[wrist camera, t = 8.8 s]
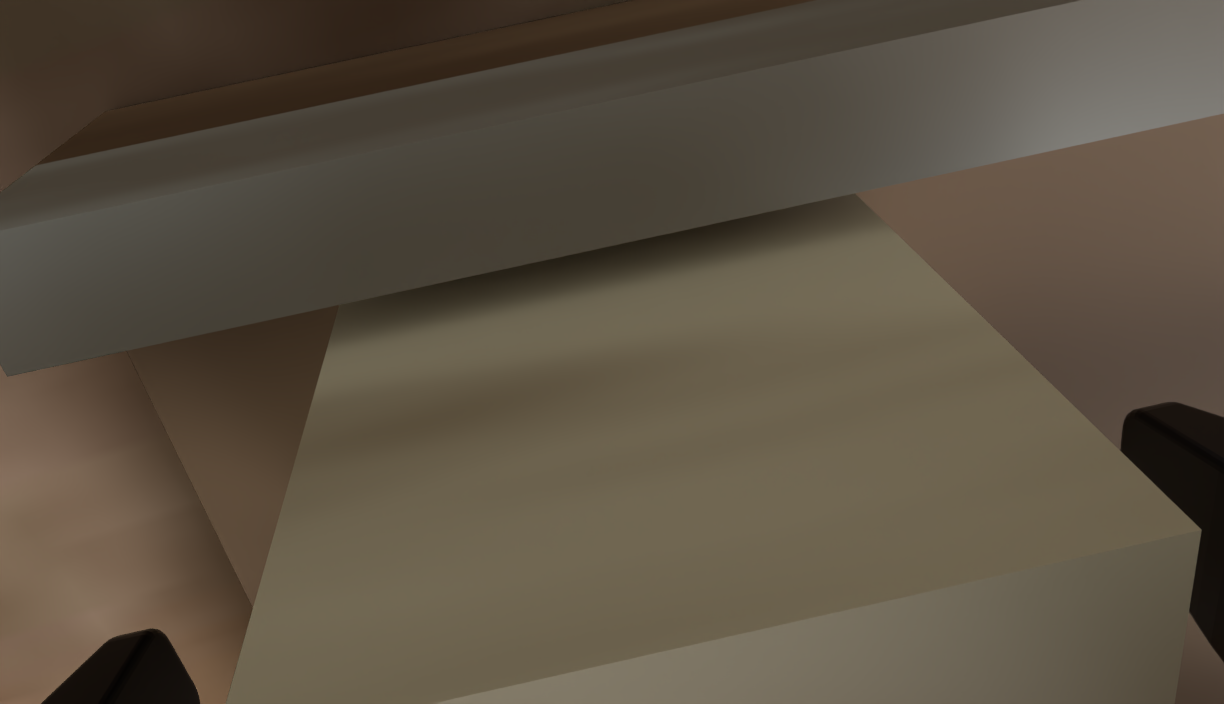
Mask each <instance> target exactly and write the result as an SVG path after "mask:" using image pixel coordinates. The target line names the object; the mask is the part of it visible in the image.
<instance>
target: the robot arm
mask: <svg viewBox="0 0 1224 704" xmlns="http://www.w3.org/2000/svg"><path fill="white" fill-rule="evenodd" d="M1120 451H1121V452H1122V453H1123V454H1124V455H1125V456H1126V457H1127V458H1128V459H1129V460H1130V461H1131V462H1132V463H1133V464H1134V465H1135V466H1136V467H1137V468H1138V469H1140V470H1141V471H1142V472H1143V473H1144V474H1145V475H1146V476H1147V477H1148V478H1149V479H1150V480H1151V481H1152V482H1153V483H1154V484H1155V485H1156V486H1157V487H1158V488H1159V489H1160V490H1161V491H1162V492H1163V493H1164V494H1165V495H1166V496H1167V497H1168V498H1169V499H1170V500H1171V501H1172V502H1173V503H1175V504H1176V505H1177V506H1178V507H1179V508H1180V509H1181V510H1182V511H1183V512H1184V513H1185V514H1186V515H1187V516H1188V517H1189V518H1190V519H1191V520H1192V521H1193V522H1194V523H1195V524H1196V525H1197V526H1198V527H1199V528H1200V529H1201V530H1202V531H1201V537H1200V544H1199V550H1198V556H1197V563H1196V569H1195V576H1194V582H1193V588H1192V595H1191V601H1190V608H1189V613H1190V614H1191V616H1192V617H1193V619H1194V621H1195V622H1196V624H1197V625H1198V627H1199V628H1200V630H1201V631H1202V633H1203V634H1204V636H1205V637H1206V639H1207V640H1208V642H1209V643H1210V645H1211V646H1212V648H1213V649H1214V650H1215V652H1216V653H1217V654H1218V656H1219V657H1220V658H1221V660H1222V661H1223V662H1224V417H1222V416H1219V415H1216V414H1213V413H1210V412H1206V411H1203V410H1200V409H1197V408H1194V407H1191V406H1188V405H1185V404H1182V403H1178V402H1165V403H1160V404H1156V405H1151V406H1147V407H1142V408H1138V409H1134V410H1132V411H1131V412H1129V413H1128V414H1127V415H1126V417H1125V419H1124V422H1123V427H1122V437H1121V447H1120ZM41 704H200V700H199V695H198V692H197V689H196V687H195V685H194V683H193V681H192V680H191V678H190V676H189V674H188V673H187V671H186V669H185V667H184V665H183V664H182V662H181V660H180V658H179V657H178V655H177V653H176V651H175V649H174V648H173V646H172V644H171V642H170V641H169V639H168V638H167V636H166V635H165V634H164V633H163V632H161V631H160V630H158V629H146V630H142V631H137V632H133V633H128V634H124V635H119V636H116V637H113V638H111V639H110V640H108V641H107V642H106V643H104V644H103V645H102V646H101V647H100V648H99V649H98V650H97V651H96V652H95V653H94V654H93V655H92V656H91V657H90V658H89V659H88V660H86V661H85V662H84V663H83V664H82V665H81V666H80V667H79V668H78V669H77V670H76V671H75V672H74V673H73V674H72V675H71V676H70V677H69V678H67V679H66V680H65V681H64V682H63V683H62V684H61V685H60V686H59V687H58V688H57V689H56V690H55V691H54V692H53V693H52V694H51V695H50V696H48V697H47V698H46V699H45V700H44V701H43V702H42V703H41Z"/></svg>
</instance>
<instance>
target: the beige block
mask: <svg viewBox="0 0 1224 704" xmlns="http://www.w3.org/2000/svg"><path fill="white" fill-rule="evenodd" d="M1201 531H1202V530H1201V529H1200V528H1199V527H1198V526H1197V525H1196V524H1195V523H1194V522H1193V521H1192V520H1191V519H1190V518H1189V517H1188V516H1187V515H1186V514H1185V513H1184V512H1183V511H1182V510H1181V509H1180V508H1179V507H1178V506H1177V505H1176V504H1175V503H1173V502H1172V501H1171V500H1170V499H1169V498H1168V497H1167V496H1166V495H1165V494H1164V493H1163V492H1162V491H1161V490H1160V489H1159V488H1158V487H1157V486H1156V485H1155V484H1154V483H1153V482H1152V481H1151V480H1150V479H1149V478H1148V477H1147V476H1146V475H1145V474H1144V473H1143V472H1142V471H1141V470H1140V469H1138V468H1137V467H1136V466H1135V465H1134V464H1133V463H1132V462H1131V461H1130V460H1129V459H1128V458H1127V457H1126V456H1125V455H1124V454H1123V453H1122V452H1121V451H1120V450H1119V449H1118V448H1117V447H1116V446H1115V445H1114V444H1113V443H1112V442H1111V441H1110V440H1109V439H1108V438H1107V437H1105V436H1104V435H1103V434H1102V433H1101V432H1100V431H1099V430H1098V429H1097V428H1096V427H1095V426H1094V425H1093V424H1092V423H1091V422H1090V421H1089V420H1088V419H1087V418H1086V417H1085V416H1084V415H1083V414H1082V413H1081V412H1080V411H1079V410H1078V409H1077V408H1076V407H1075V406H1074V405H1073V404H1072V403H1070V402H1069V401H1068V400H1067V399H1066V398H1065V397H1064V396H1063V395H1062V394H1061V393H1060V392H1059V391H1058V390H1057V389H1056V388H1055V387H1054V386H1053V385H1052V384H1051V383H1050V382H1049V381H1048V380H1047V379H1046V378H1045V377H1044V376H1043V375H1042V374H1041V373H1040V372H1039V371H1038V370H1036V369H1035V368H1034V367H1033V366H1032V365H1031V364H1030V363H1029V362H1028V361H1027V360H1026V359H1025V358H1024V357H1023V356H1022V355H1021V354H1020V353H1019V352H1018V351H1017V350H1016V349H1015V348H1014V347H1013V346H1012V345H1011V344H1010V343H1009V342H1008V341H1007V340H1006V339H1005V338H1004V337H1002V336H1001V335H1000V334H999V333H998V332H997V331H996V330H995V329H994V328H993V327H992V326H991V325H990V324H989V323H988V322H987V321H986V320H985V319H984V318H983V317H982V316H981V315H980V314H979V313H978V312H977V311H976V310H975V309H974V308H973V307H972V306H971V305H970V304H968V303H967V302H966V301H965V300H964V299H963V298H962V297H961V296H960V295H959V294H958V293H957V292H956V291H955V290H954V289H953V288H952V287H951V286H950V285H949V284H948V283H947V282H946V281H945V280H944V279H943V278H942V277H941V276H940V275H939V274H938V273H937V272H936V271H934V270H933V269H932V268H931V267H930V266H929V265H928V264H927V263H926V262H925V261H924V260H923V259H922V258H921V257H920V256H919V255H918V254H917V253H916V252H915V251H914V250H913V249H912V248H911V247H910V246H909V245H908V244H907V243H906V242H905V241H904V240H903V239H902V238H900V237H899V236H898V235H897V234H896V233H895V232H894V231H893V230H892V229H891V228H890V227H889V226H888V225H887V224H886V223H885V222H884V221H883V220H882V219H881V218H880V217H879V216H878V215H877V214H876V213H875V212H874V211H873V210H872V209H871V208H870V207H869V206H868V205H866V204H865V203H864V202H863V201H862V200H861V199H860V198H859V197H858V196H857V195H856V194H855V193H854V194H849V195H845V196H840V197H836V198H831V199H826V200H822V201H817V202H812V203H808V204H803V205H799V206H794V207H789V208H785V209H780V210H775V211H771V212H766V213H762V214H757V215H752V216H748V217H743V218H739V219H734V220H729V221H725V222H720V223H715V224H711V225H706V226H702V227H697V228H692V229H688V230H683V231H678V232H674V233H669V234H665V235H660V236H655V237H651V238H646V239H641V240H637V241H632V242H628V243H623V244H618V245H614V246H609V247H604V248H600V249H595V250H591V251H586V252H581V253H577V254H572V255H567V256H563V257H558V258H554V259H549V260H544V261H540V262H535V263H530V264H526V265H521V266H517V267H512V268H507V269H503V270H498V271H493V272H489V273H484V274H480V275H475V276H470V277H466V278H461V279H456V280H452V281H447V282H443V283H438V284H433V285H429V286H424V287H419V288H415V289H410V290H406V291H401V292H396V293H392V294H387V295H382V296H378V297H373V298H369V299H364V300H359V301H355V302H350V303H345V304H341V305H339V308H338V312H337V315H336V319H335V322H334V326H333V329H332V333H331V336H330V340H329V343H328V347H327V350H326V354H325V357H324V361H323V364H322V368H321V371H320V375H319V378H318V382H317V385H316V389H315V392H314V396H313V400H312V403H311V407H310V410H309V414H308V417H307V421H306V424H305V428H304V431H303V435H302V438H301V442H300V445H299V449H298V452H297V456H296V459H295V463H294V466H293V470H292V473H291V477H290V480H289V484H288V487H287V491H286V494H285V498H284V501H283V505H282V508H281V512H280V515H279V519H278V522H277V526H276V529H275V533H274V536H273V540H272V543H271V547H270V550H269V554H268V557H267V561H266V564H265V568H264V571H263V575H262V578H261V582H260V585H259V589H258V592H257V596H256V599H255V603H254V606H253V610H252V613H251V617H250V620H249V624H248V628H247V631H246V635H245V638H244V642H243V645H242V649H241V652H240V656H239V659H238V663H237V666H236V670H235V673H234V677H233V680H232V684H231V687H230V691H229V694H228V698H227V701H226V704H1175V698H1176V691H1177V685H1178V678H1179V672H1180V665H1181V659H1182V653H1183V646H1184V640H1185V633H1186V627H1187V621H1188V614H1189V608H1190V601H1191V595H1192V588H1193V582H1194V576H1195V569H1196V563H1197V556H1198V550H1199V544H1200V537H1201Z"/></svg>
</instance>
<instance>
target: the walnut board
mask: <svg viewBox="0 0 1224 704" xmlns="http://www.w3.org/2000/svg"><path fill="white" fill-rule="evenodd" d="M854 193H855V194H856V195H857V196H858V197H859V198H860V199H861V200H862V201H863V202H864V203H865V204H866V205H868V206H869V207H870V208H871V209H872V210H873V211H874V212H875V213H876V214H877V215H878V216H879V217H880V218H881V219H882V220H883V221H884V222H885V223H886V224H887V225H888V226H889V227H890V228H891V229H892V230H893V231H894V232H895V233H896V234H897V235H898V236H899V237H900V238H902V239H903V240H904V241H905V242H906V243H907V244H908V245H909V246H910V247H911V248H912V249H913V250H914V251H915V252H916V253H917V254H918V255H919V256H920V257H921V258H922V259H923V260H924V261H925V262H926V263H927V264H928V265H929V266H930V267H931V268H932V269H933V270H934V271H936V272H937V273H938V274H939V275H940V276H941V277H942V278H943V279H944V280H945V281H946V282H947V283H948V284H949V285H950V286H951V287H952V288H953V289H954V290H955V291H956V292H957V293H958V294H959V295H960V296H961V297H962V298H963V299H964V300H965V301H966V302H967V303H968V304H970V305H971V306H972V307H973V308H974V309H975V310H976V311H977V312H978V313H979V314H980V315H981V316H982V317H983V318H984V319H985V320H986V321H987V322H988V323H989V324H990V325H991V326H992V327H993V328H994V329H995V330H996V331H997V332H998V333H999V334H1000V335H1001V336H1002V337H1004V338H1005V339H1006V340H1007V341H1008V342H1009V343H1010V344H1011V345H1012V346H1013V347H1014V348H1015V349H1016V350H1017V351H1018V352H1019V353H1020V354H1021V355H1022V356H1023V357H1024V358H1025V359H1026V360H1027V361H1028V362H1029V363H1030V364H1031V365H1032V366H1033V367H1034V368H1035V369H1036V370H1038V371H1039V372H1040V373H1041V374H1042V375H1043V376H1044V377H1045V378H1046V379H1047V380H1048V381H1049V382H1050V383H1051V384H1052V385H1053V386H1054V387H1055V388H1056V389H1057V390H1058V391H1059V392H1060V393H1061V394H1062V395H1063V396H1064V397H1065V398H1066V399H1067V400H1068V401H1069V402H1070V403H1072V404H1073V405H1074V406H1075V407H1076V408H1077V409H1078V410H1079V411H1080V412H1081V413H1082V414H1083V415H1084V416H1085V417H1086V418H1087V419H1088V420H1089V421H1090V422H1091V423H1092V424H1093V425H1094V426H1095V427H1096V428H1097V429H1098V430H1099V431H1100V432H1101V433H1102V434H1103V435H1104V436H1105V437H1107V438H1108V439H1109V440H1110V441H1111V442H1112V443H1113V444H1114V445H1115V446H1116V447H1117V448H1118V449H1119V450H1120V447H1121V437H1122V427H1123V422H1124V419H1125V417H1126V415H1127V414H1128V413H1129V412H1131V411H1132V410H1134V409H1138V408H1142V407H1147V406H1151V405H1156V404H1160V403H1165V402H1178V403H1182V404H1185V405H1188V406H1191V407H1194V408H1197V409H1200V410H1203V411H1206V412H1210V413H1213V414H1216V415H1219V416H1222V417H1224V0H631V1H627V2H622V3H617V4H612V5H608V6H603V7H598V8H593V9H589V10H584V11H579V12H575V13H570V14H565V15H560V16H556V17H551V18H546V19H541V20H537V21H532V22H527V23H522V24H518V25H513V26H508V27H503V28H499V29H494V30H489V31H484V32H480V33H475V34H470V35H465V36H461V37H456V38H451V39H447V40H442V41H437V42H432V43H428V44H423V45H418V46H413V47H409V48H404V49H399V50H394V51H390V52H385V53H380V54H375V55H371V56H366V57H361V58H356V59H352V60H347V61H342V62H338V63H333V64H328V65H323V66H319V67H314V68H309V69H304V70H300V71H295V72H290V73H285V74H281V75H276V76H271V77H266V78H262V79H257V80H252V81H247V82H243V83H238V84H233V85H228V86H224V87H219V88H214V89H210V90H205V91H200V92H195V93H191V94H186V95H181V96H176V97H172V98H167V99H162V100H157V101H153V102H148V103H143V104H138V105H134V106H129V107H124V108H119V109H115V110H110V111H105V112H104V113H103V114H102V115H100V116H99V117H98V118H96V119H95V120H94V121H93V122H91V123H90V124H89V125H87V126H86V127H85V128H83V129H82V130H81V131H80V132H78V133H77V134H76V135H74V136H73V137H72V138H70V139H69V140H68V141H67V142H65V143H64V144H63V145H61V146H60V147H59V148H58V149H56V150H55V151H54V152H52V153H51V154H50V155H48V156H47V157H46V158H45V159H43V160H42V161H41V162H39V163H38V164H37V165H35V166H34V167H33V168H32V169H30V170H29V171H28V172H26V173H25V174H24V175H23V176H21V177H20V178H19V179H17V180H16V181H15V182H13V183H12V184H11V185H10V186H8V187H7V188H6V189H4V190H3V191H2V192H0V365H1V367H2V368H3V370H4V372H5V374H6V375H7V377H8V376H13V375H17V374H22V373H26V372H31V371H36V370H40V369H45V368H50V367H54V366H59V365H63V364H68V363H73V362H77V361H82V360H87V359H91V358H96V357H100V356H105V355H110V354H114V353H119V352H124V351H127V353H128V355H129V357H130V359H131V361H132V363H133V365H134V367H135V369H136V371H137V373H138V375H139V377H140V379H141V382H142V384H143V386H144V388H145V390H146V392H147V394H148V396H149V398H150V400H151V402H152V404H153V406H154V408H155V410H156V412H157V414H158V416H159V418H160V420H161V422H162V424H163V426H164V428H165V430H166V432H167V434H168V436H169V438H170V441H171V443H172V445H173V447H174V449H175V451H176V453H177V455H178V457H179V459H180V461H181V463H182V465H183V467H184V469H185V471H186V473H187V475H188V477H189V479H190V481H191V483H192V485H193V487H194V489H195V491H196V493H197V495H198V497H199V500H200V502H201V504H202V506H203V508H204V510H205V512H206V514H207V516H208V518H209V520H210V522H211V524H212V526H213V528H214V530H215V532H216V534H217V536H218V538H219V540H220V542H221V544H222V546H223V548H224V550H225V552H226V554H227V556H228V559H229V561H230V563H231V565H232V567H233V569H234V571H235V573H236V575H237V577H238V579H239V581H240V583H241V585H242V587H243V589H244V591H245V593H246V595H247V597H248V599H249V601H250V603H251V605H252V607H253V606H254V603H255V599H256V596H257V592H258V589H259V585H260V582H261V578H262V575H263V571H264V568H265V564H266V561H267V557H268V554H269V550H270V547H271V543H272V540H273V536H274V533H275V529H276V526H277V522H278V519H279V515H280V512H281V508H282V505H283V501H284V498H285V494H286V491H287V487H288V484H289V480H290V477H291V473H292V470H293V466H294V463H295V459H296V456H297V452H298V449H299V445H300V442H301V438H302V435H303V431H304V428H305V424H306V421H307V417H308V414H309V410H310V407H311V403H312V400H313V396H314V392H315V389H316V385H317V382H318V378H319V375H320V371H321V368H322V364H323V361H324V357H325V354H326V350H327V347H328V343H329V340H330V336H331V333H332V329H333V326H334V322H335V319H336V315H337V312H338V308H339V305H341V304H345V303H350V302H355V301H359V300H364V299H369V298H373V297H378V296H382V295H387V294H392V293H396V292H401V291H406V290H410V289H415V288H419V287H424V286H429V285H433V284H438V283H443V282H447V281H452V280H456V279H461V278H466V277H470V276H475V275H480V274H484V273H489V272H493V271H498V270H503V269H507V268H512V267H517V266H521V265H526V264H530V263H535V262H540V261H544V260H549V259H554V258H558V257H563V256H567V255H572V254H577V253H581V252H586V251H591V250H595V249H600V248H604V247H609V246H614V245H618V244H623V243H628V242H632V241H637V240H641V239H646V238H651V237H655V236H660V235H665V234H669V233H674V232H678V231H683V230H688V229H692V228H697V227H702V226H706V225H711V224H715V223H720V222H725V221H729V220H734V219H739V218H743V217H748V216H752V215H757V214H762V213H766V212H771V211H775V210H780V209H785V208H789V207H794V206H799V205H803V204H808V203H812V202H817V201H822V200H826V199H831V198H836V197H840V196H845V195H849V194H854ZM1175 704H1224V662H1223V661H1222V660H1221V658H1220V657H1219V656H1218V654H1217V653H1216V652H1215V650H1214V649H1213V648H1212V646H1211V645H1210V643H1209V642H1208V640H1207V639H1206V637H1205V636H1204V634H1203V633H1202V631H1201V630H1200V628H1199V627H1198V625H1197V624H1196V622H1195V621H1194V619H1193V617H1192V616H1191V614H1190V613H1189V614H1188V621H1187V627H1186V633H1185V640H1184V646H1183V653H1182V659H1181V665H1180V672H1179V678H1178V685H1177V691H1176V698H1175Z"/></svg>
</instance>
